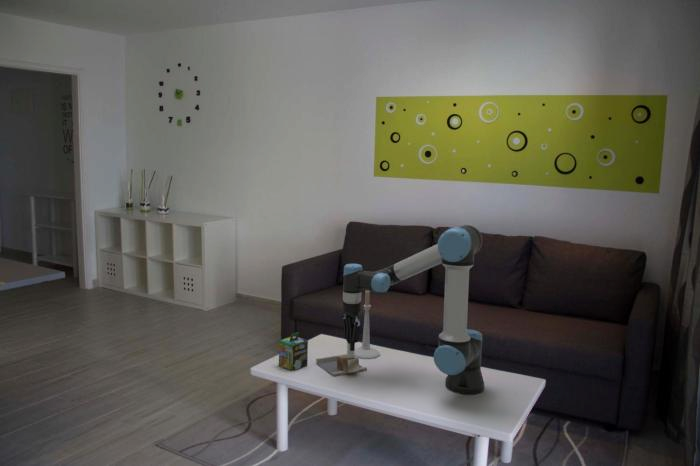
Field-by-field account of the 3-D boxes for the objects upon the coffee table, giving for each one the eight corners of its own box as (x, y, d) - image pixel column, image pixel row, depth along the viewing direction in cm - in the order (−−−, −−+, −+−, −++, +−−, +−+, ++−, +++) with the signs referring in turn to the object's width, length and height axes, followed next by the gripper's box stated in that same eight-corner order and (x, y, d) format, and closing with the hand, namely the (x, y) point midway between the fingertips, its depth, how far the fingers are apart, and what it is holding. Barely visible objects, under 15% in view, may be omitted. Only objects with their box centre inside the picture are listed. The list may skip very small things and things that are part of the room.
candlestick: (356, 348, 271) (357, 286, 267) (382, 351, 268) (384, 288, 264) (348, 357, 259) (350, 291, 255) (376, 360, 255) (378, 294, 252)
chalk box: (293, 360, 252) (293, 328, 251) (308, 365, 247) (308, 332, 245) (277, 366, 245) (278, 332, 244) (292, 371, 240) (293, 337, 238)
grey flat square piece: (366, 370, 243) (366, 364, 243) (333, 376, 235) (333, 370, 235) (348, 358, 257) (348, 353, 256) (316, 363, 249) (316, 358, 249)
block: (358, 358, 237) (347, 354, 246) (348, 360, 235) (336, 356, 244) (359, 370, 237) (347, 366, 246) (348, 372, 235) (337, 368, 244)
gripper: (368, 304, 231) (366, 361, 234) (352, 297, 243) (350, 351, 246) (351, 306, 228) (350, 363, 231) (336, 299, 239) (335, 353, 242)
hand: (350, 357), depth 238 cm, fingers closed
